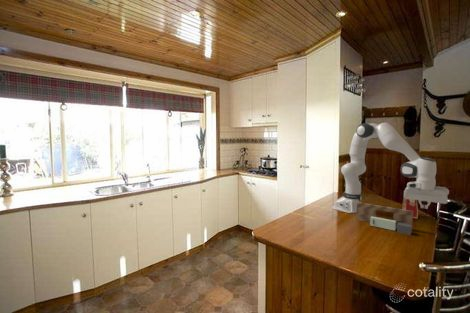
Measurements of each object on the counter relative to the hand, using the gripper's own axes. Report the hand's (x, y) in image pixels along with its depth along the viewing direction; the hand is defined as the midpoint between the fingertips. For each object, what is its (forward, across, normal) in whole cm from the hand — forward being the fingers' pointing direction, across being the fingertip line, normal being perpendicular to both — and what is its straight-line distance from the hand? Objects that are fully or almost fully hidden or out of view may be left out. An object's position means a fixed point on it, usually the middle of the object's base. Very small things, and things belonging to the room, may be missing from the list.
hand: (424, 208), depth 140 cm
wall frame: (+17, +21, -6) cm, 28 cm away
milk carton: (+17, +9, -38) cm, 43 cm away
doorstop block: (+17, +9, 0) cm, 20 cm away
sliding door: (+17, +20, 0) cm, 27 cm away
